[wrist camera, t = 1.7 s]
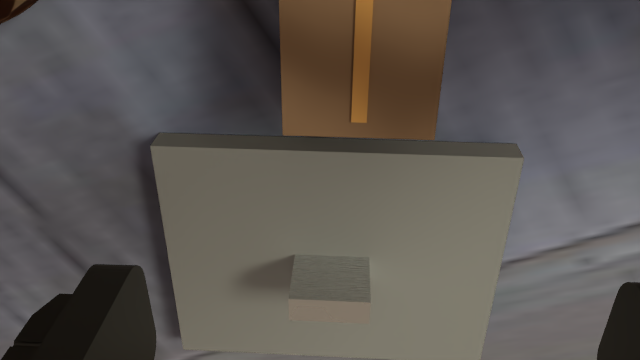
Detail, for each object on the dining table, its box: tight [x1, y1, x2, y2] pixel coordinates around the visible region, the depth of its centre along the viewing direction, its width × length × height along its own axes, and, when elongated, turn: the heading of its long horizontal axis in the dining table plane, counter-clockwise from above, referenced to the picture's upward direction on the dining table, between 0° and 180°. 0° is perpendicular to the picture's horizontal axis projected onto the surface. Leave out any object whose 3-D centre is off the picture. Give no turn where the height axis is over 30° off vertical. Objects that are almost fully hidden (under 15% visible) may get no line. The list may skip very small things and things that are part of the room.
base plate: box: [150, 133, 524, 360], centre depth 31 cm, size 14×18×2 cm
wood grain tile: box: [288, 254, 371, 324], centre depth 29 cm, size 1×4×4 cm, turn 90°
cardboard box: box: [279, 0, 452, 140], centre depth 23 cm, size 7×6×6 cm
